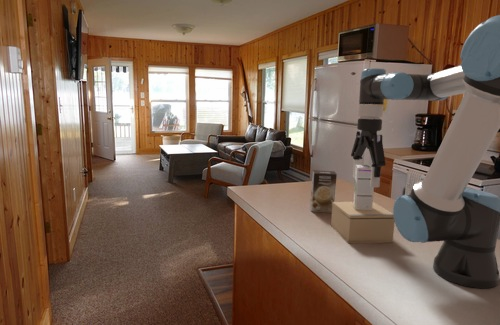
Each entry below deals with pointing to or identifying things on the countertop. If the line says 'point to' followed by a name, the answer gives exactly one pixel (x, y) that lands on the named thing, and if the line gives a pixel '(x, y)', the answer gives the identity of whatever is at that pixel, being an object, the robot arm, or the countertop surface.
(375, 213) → the box lid
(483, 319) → the countertop surface
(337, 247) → the countertop surface
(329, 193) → the coffee box
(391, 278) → the countertop surface
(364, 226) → the cardboard box
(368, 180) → the syrup box
